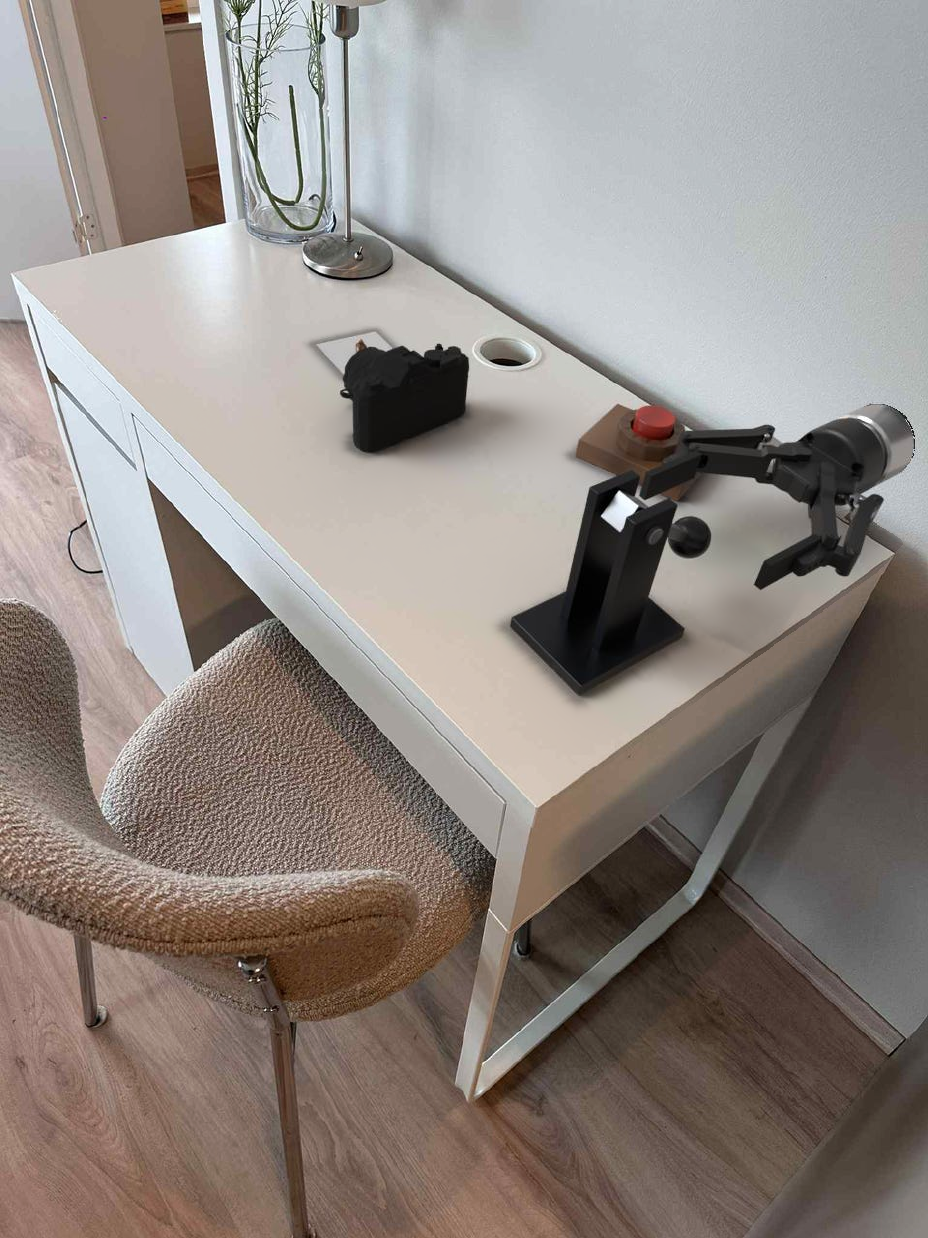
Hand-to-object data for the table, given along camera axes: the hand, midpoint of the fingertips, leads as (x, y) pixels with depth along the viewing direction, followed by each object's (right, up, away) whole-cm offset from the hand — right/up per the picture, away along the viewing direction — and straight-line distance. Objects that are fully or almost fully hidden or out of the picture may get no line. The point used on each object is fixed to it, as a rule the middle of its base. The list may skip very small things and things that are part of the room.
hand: (700, 529), depth 75 cm
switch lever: (-5, -2, -4) cm, 7 cm away
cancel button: (-1, +12, +17) cm, 20 cm away
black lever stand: (-9, -9, +1) cm, 12 cm away
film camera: (-28, +14, +21) cm, 38 cm away
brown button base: (-1, +9, +19) cm, 21 cm away
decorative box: (-32, +24, +30) cm, 50 cm away
